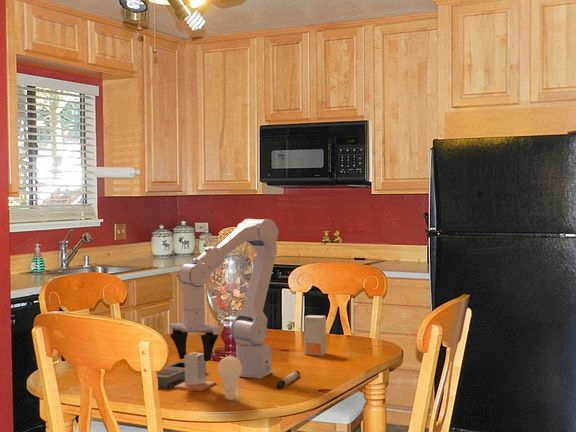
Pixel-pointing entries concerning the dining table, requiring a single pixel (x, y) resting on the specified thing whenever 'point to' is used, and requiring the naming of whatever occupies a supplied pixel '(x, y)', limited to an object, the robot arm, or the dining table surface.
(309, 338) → the skincare box
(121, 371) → the dining table surface
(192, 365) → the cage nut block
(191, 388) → the mat
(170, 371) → the grey slotted tray
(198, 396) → the dining table surface
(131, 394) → the dining table surface
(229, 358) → the lightbulb
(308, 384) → the dining table surface
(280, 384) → the marker
